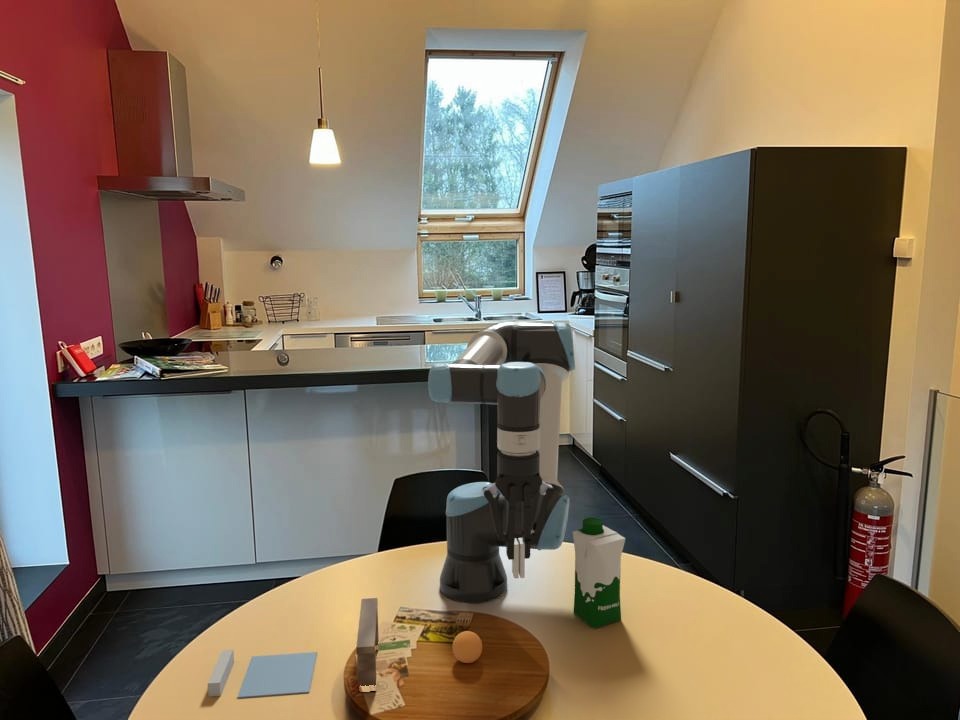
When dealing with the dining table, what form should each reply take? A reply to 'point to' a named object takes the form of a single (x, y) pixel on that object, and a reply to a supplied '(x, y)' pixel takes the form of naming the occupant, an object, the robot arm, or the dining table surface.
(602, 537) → the milk carton
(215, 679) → the rail
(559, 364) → the robot arm
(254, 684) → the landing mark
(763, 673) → the dining table surface
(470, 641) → the ball
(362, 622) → the bridge
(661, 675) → the dining table surface
